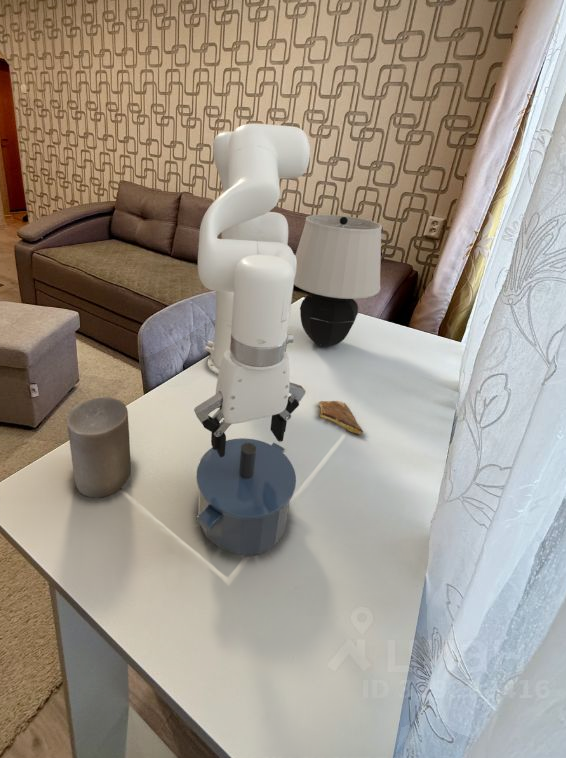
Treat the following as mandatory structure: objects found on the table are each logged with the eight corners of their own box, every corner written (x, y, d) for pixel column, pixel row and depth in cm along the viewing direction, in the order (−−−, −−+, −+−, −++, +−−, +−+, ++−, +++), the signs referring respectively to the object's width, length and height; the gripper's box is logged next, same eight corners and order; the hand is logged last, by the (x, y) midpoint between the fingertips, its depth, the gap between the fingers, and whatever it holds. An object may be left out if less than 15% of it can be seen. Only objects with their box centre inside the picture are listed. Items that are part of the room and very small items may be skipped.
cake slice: (362, 437, 86) (363, 430, 85) (328, 439, 84) (329, 432, 84) (343, 406, 95) (345, 400, 95) (313, 407, 94) (314, 401, 93)
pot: (167, 530, 62) (167, 490, 59) (244, 458, 77) (247, 423, 74) (240, 592, 54) (244, 550, 51) (309, 499, 69) (316, 462, 66)
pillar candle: (140, 462, 75) (138, 396, 69) (114, 504, 66) (108, 433, 60) (93, 451, 76) (87, 386, 70) (61, 491, 67) (51, 420, 62)
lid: (175, 482, 61) (175, 451, 59) (237, 431, 73) (239, 403, 70) (257, 544, 53) (261, 510, 50) (312, 474, 65) (318, 444, 62)
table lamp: (316, 318, 143) (333, 206, 128) (383, 348, 125) (412, 222, 110) (263, 338, 126) (276, 211, 110) (332, 375, 108) (358, 230, 92)
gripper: (298, 326, 60) (286, 415, 67) (188, 341, 54) (187, 439, 60) (326, 350, 54) (309, 446, 61) (205, 371, 47) (201, 476, 54)
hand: (248, 442), depth 61 cm, fingers open, 9 cm apart
